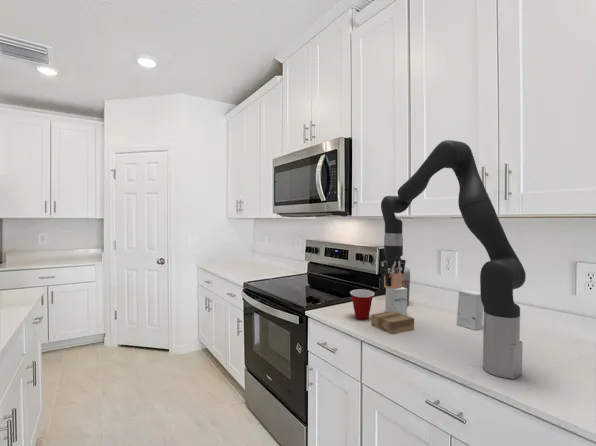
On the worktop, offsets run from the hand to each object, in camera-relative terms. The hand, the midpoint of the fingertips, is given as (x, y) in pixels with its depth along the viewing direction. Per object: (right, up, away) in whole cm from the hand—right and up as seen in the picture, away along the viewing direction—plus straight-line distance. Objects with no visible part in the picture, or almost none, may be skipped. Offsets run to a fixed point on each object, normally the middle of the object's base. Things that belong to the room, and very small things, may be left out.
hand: (392, 285), depth 137 cm
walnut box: (0, -18, 0) cm, 18 cm away
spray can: (+15, -17, +37) cm, 44 cm away
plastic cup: (-10, -18, +13) cm, 24 cm away
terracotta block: (0, -1, 0) cm, 1 cm away
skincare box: (+33, -18, +2) cm, 38 cm away
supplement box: (+7, -18, +21) cm, 28 cm away
